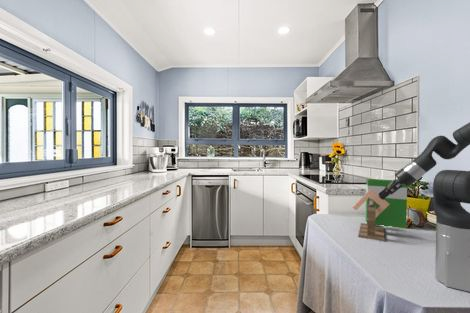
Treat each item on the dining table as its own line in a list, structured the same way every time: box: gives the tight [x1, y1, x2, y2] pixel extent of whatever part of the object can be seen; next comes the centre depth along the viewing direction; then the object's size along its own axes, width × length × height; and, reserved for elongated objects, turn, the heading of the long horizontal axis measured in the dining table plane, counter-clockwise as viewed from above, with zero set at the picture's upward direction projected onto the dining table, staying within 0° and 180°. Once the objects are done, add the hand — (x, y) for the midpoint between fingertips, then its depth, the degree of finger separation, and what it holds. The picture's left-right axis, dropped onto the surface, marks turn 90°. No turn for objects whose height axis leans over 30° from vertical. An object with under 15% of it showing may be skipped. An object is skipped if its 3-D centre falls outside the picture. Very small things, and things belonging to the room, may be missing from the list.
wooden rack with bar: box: [357, 198, 385, 242], centre depth 113 cm, size 21×10×16 cm, turn 149°
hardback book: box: [365, 178, 408, 229], centre depth 126 cm, size 18×7×24 cm, turn 66°
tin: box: [407, 207, 426, 228], centre depth 128 cm, size 15×3×8 cm, turn 168°
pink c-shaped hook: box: [352, 189, 389, 220], centre depth 113 cm, size 3×10×12 cm
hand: (380, 196), depth 111 cm, fingers open, 8 cm apart
